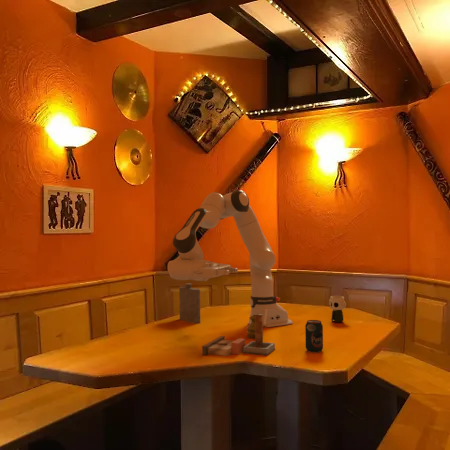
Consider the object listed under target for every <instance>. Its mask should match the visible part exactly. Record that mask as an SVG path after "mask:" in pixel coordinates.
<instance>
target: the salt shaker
mask: <svg viewBox="0 0 450 450" xmlns="http://www.w3.org/2000/svg"><path fill="white" fill-rule="evenodd" d="M248 318H249V319H251V321H252V323H251V324H248V326H246V330H247V331H246V337H247V338H249V339H252V340H253V339H255V315H252V316H249V317H248Z"/></svg>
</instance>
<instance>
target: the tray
mask: <svg viewBox="0 0 450 450" xmlns="http://www.w3.org/2000/svg"><path fill="white" fill-rule="evenodd" d="M275 344H276V343H274V342H266V341H265V342H264V341H263V348H258V347H255V341H253V340H252V341H250V342H248V343H247V344H245V346H244V347H243V352H242V353H243V354H249V355H250V354H251V355H257V356H258V355H259V356H269V355H270V354H271V353H272V352H273V351H274V350H275V349H276V345H275Z"/></svg>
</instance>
